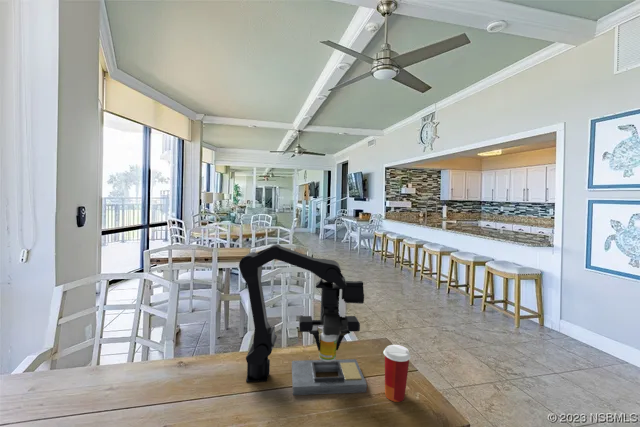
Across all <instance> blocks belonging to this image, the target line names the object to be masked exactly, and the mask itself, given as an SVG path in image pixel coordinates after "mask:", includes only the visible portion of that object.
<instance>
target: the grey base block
mask: <svg viewBox="0 0 640 427" xmlns="http://www.w3.org/2000/svg"><path fill="white" fill-rule="evenodd" d="M316 373H337V376H323V377H322V376H320V377H319V376H318V377H317V376H316ZM291 379H292V380H291V383H292V396H305V395H307V396H308V395H329V394H330V395H331V394H356V393H358V394H359V393H367V388H368V385H367V384H368V383H367V381H366V379H365V377H364V375H363V372H362V370H361V368H360V365H359V363H358V361H357V359H356V358H353V359H352V358H351V359H349V358H346V359H342V358H341V359H335V360H333V361H330V362H326V361H323V360H321V359H312V360H311V359H308V360H307V359H306V360H305V359H304V360H303V359H301V360H292V361H291Z"/></svg>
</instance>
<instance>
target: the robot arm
mask: <svg viewBox="0 0 640 427" xmlns="http://www.w3.org/2000/svg"><path fill="white" fill-rule="evenodd" d="M274 260H278V261H281V262H284V263H285V264H286V263H287V264H289V265H291V266H295V267H297V268H300V269H303V270H306V271H308V272H311V273H312V274H314V275H316V276H317V277H318V278H320V279H319V280H318V281H317V282H316V283H315V288H316V289H321V291H320V292H321V294H320V295H321V298H320V316H319V319H313V318H312V315H301V316H300V317H298V329H299V332H301V333H309V334H310V335H313V338H314V340H315V343H316V347H317V351H318V352H319V350H320V331H319V327H322V328H323V327H324V334H325V335H336V336H337V345H336V351H338V350H339V348H340V346H341V344H342V340H343V339H344V338H345V336H346V335H347V334H348V335H350V334H351V332H360V331H361V323H360V321H359V319H358V317H356V315H344V316H341V314H340V299H341V300H343V302H344V303H345V304H360V305H363V304H365V302H364V301H365V293H364V292H365V291H364V282H363V280H355V281H354V280H346V278H345V276H344V275H343V273H342V272H341V271H342V270H341V266H340V264H339V263H338V262H337V261H336V260H333V259H327V258H318V257H317V258H316V257H313V256H310V255H307V254H304V253H301V252H298V251H296V250H292V249H289V248H287V247H284V246H282V245H280V244H279V243H276V244H273V245H271V246H269V247H267V248H265V249H263V250H260V251H258V252H255V251H254V252H253V251H252V252H249V253H247V254H246V255H245V256H244V257H242V258H241V259H240V261H239V263H238V267H239V270H240V274H241V276H242V278H243V280H244V282H245V283H246V285H247V290H248V297H249V303H250V309H251V314H252V322H253V325H254V329H253V330H254V332H253V341H252V344H251V346H250V348H249V350H248V352H247V355H246V357H245V360H246V363H247V364H246V368H247V369H246V370H247V371H246V377H245V378H246V380H245V382H246V383H252V382H256V383H257V382H268V377H269V376H270V370H271V368H270V367H271V366H270V365H271V360H270V359H269V356H270V355H271V353H272V351H273V350H274V349H273V348H274V347H275V345H276V340H277V339H278V336H277V335H276V326H275V325H274V326H271V325H270V324H269V321H268V315H267V309H266V302H265V296H264V291H263V284H262V275H263V274H262V273H263V266H264V265H266V264H268V263H270V262H272V261H274ZM340 291H341V292H340ZM340 294H341V296H340ZM340 297H341V298H340Z"/></svg>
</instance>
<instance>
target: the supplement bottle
mask: <svg viewBox="0 0 640 427" xmlns="http://www.w3.org/2000/svg"><path fill="white" fill-rule="evenodd" d="M321 330H322V331H321V333H320V334H319V342H320V350H319V351H318V357H319V360H323V361H326V362H330V361H333V360H336V358H337V350H336V345H337V335H325V334H324V327H322V328H321Z"/></svg>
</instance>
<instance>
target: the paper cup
mask: <svg viewBox="0 0 640 427" xmlns="http://www.w3.org/2000/svg"><path fill="white" fill-rule="evenodd" d="M383 355H384V392H385V393H384V394H385V397H386V399H388V400H389V401H391V402H395V403H400V402H403V401H404V399H405V397H406V390H407V382H408V374H409V373H408V372H409V364H410V359H412V358H411V357H412V356H411V353H410V351H409V349H408V348H407V347H405V346H403V345H399V344H390V345H387V346H386V347H385V348H384V350H383Z"/></svg>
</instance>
